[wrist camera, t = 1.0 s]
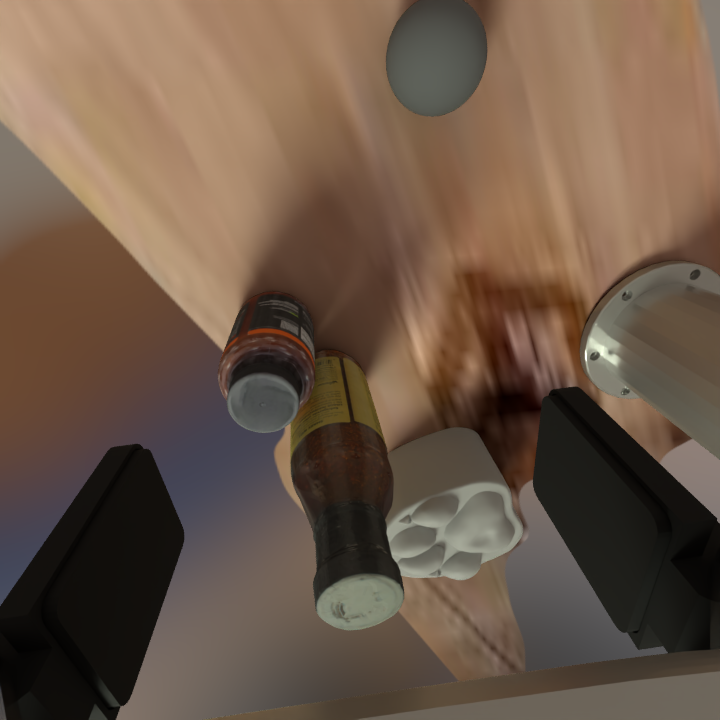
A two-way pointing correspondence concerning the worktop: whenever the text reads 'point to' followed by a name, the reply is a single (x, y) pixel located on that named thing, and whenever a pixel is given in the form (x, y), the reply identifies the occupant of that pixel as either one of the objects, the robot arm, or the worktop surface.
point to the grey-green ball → (436, 56)
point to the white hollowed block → (448, 506)
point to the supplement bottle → (268, 362)
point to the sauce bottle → (346, 496)
